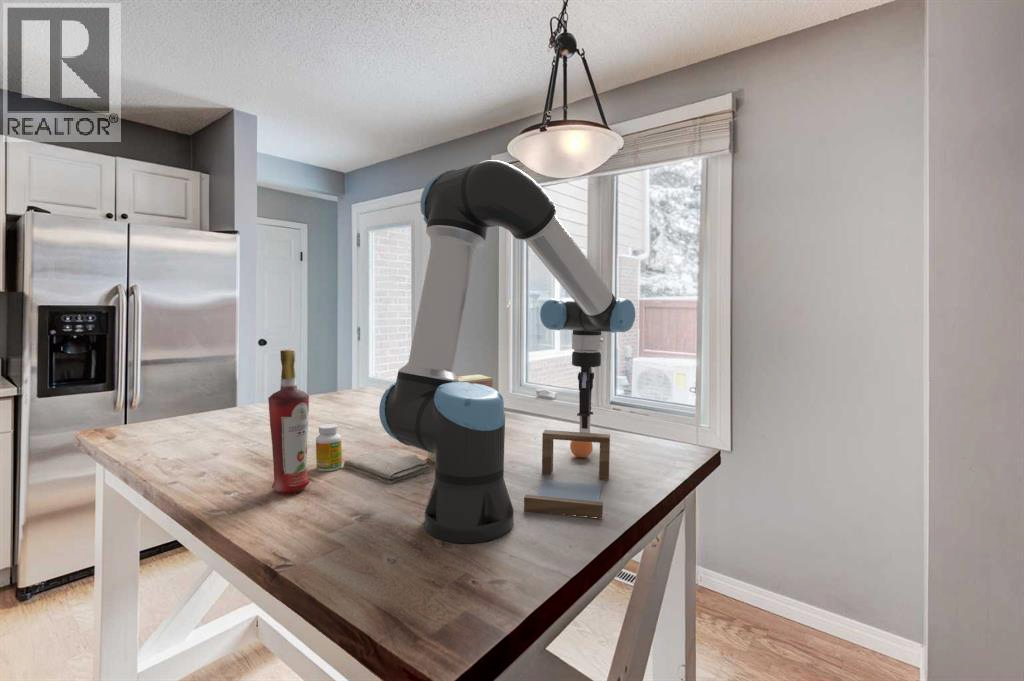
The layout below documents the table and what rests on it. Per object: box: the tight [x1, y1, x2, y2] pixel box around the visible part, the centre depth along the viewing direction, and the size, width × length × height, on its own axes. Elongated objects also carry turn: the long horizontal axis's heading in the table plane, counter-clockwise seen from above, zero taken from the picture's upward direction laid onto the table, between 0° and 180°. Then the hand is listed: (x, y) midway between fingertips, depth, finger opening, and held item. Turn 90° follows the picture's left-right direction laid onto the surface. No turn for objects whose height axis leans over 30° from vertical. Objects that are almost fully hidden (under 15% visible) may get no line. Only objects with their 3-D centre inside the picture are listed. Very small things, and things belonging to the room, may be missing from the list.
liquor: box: [267, 349, 310, 496], centre depth 97 cm, size 7×7×28 cm
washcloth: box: [342, 447, 432, 485], centre depth 112 cm, size 12×18×3 cm, turn 53°
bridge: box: [541, 429, 611, 480], centre depth 109 cm, size 3×14×9 cm, turn 76°
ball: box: [569, 441, 594, 459], centre depth 122 cm, size 6×6×6 cm
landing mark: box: [536, 479, 603, 502], centre depth 98 cm, size 12×12×1 cm
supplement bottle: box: [315, 423, 343, 472], centre depth 112 cm, size 5×5×10 cm
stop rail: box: [523, 493, 604, 519], centre depth 89 cm, size 2×14×2 cm, turn 77°
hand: (584, 439), depth 131 cm, fingers closed
